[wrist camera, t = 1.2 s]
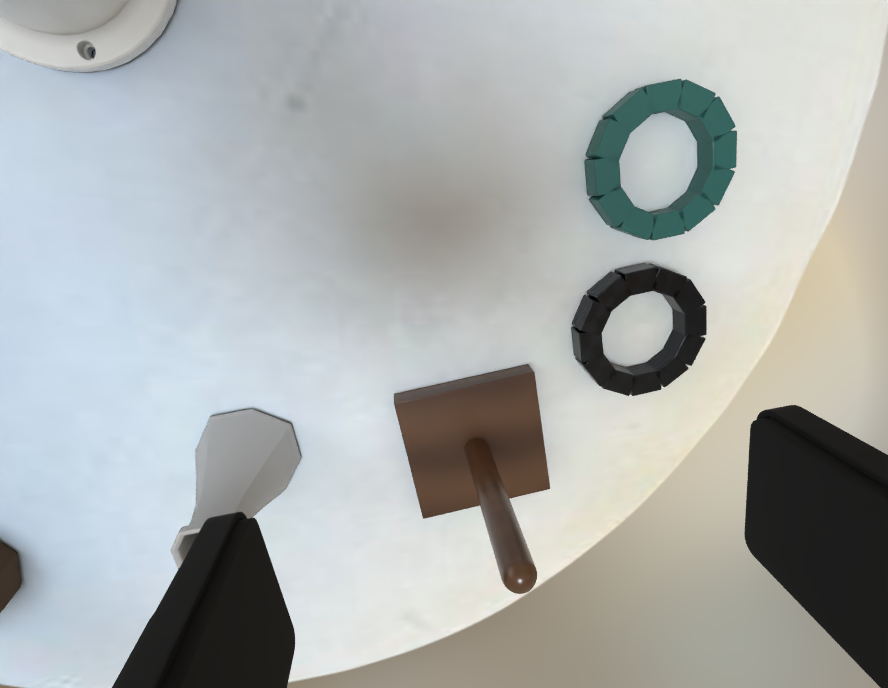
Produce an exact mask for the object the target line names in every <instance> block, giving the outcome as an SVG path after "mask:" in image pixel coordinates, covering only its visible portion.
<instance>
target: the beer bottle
mask: <svg viewBox="0 0 888 688" xmlns="http://www.w3.org/2000/svg"><path fill="white" fill-rule="evenodd" d="M20 586H21V578H20V571H19V565H18V559H17V553H16V552H15V551H14V550H12V549H11V548H9V547H8V546H6V545H5V544H3V543H2V542H0V612H1V611H2V610H3V609H4V608H5V606H6V605H7V604H8V602H9V601H10V600H11V599H12V597H13V596H14V595H15V593H16V592H17V591H18V590H19V588H20Z"/></svg>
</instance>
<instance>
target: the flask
mask: <svg viewBox="0 0 888 688" xmlns="http://www.w3.org/2000/svg"><path fill="white" fill-rule="evenodd" d="M195 458H196V505H195V509H194V513H193V517H192V520H191V522H190V524H189V525H188V526H184V527H182V528H181V529H180V531H179V533H178V535H177V537H176V539H175V542H174V544H173V546H172V548H171V553H172V555H173V558H174V560H175V562H176V565H177V567H178V569H179V568H180V566H181V564H182V562H183V560H184V559H185V557H186V555H187V553H188V551H189V550H190V548H191V546H192V544H193V542H194V540H195V539H196V537H197V535H198V533H199V531H200V530H201V528H202V526H203V524H204V522H205V521H206V520H207V519H208V518H210V517H215V516H220V515H225V514H231V513H236V512H243V513H244V514H245V515H246V517H247V519H248V518H252V517H253V516H255V515H256V514H257V513H258V512H259V511H260V510H261V509H262V508H263V507H265V506H266V505H267V504H268V503H270V502H271V501H272V500H273V499H275V498H276V497H277V496H278V495H280V494H281V493H282V492H283V491H284V490H285V489H286V488H287V486H288V484H289V482H290V480H291V478H292V476H293V474H294V472H295V470H296V468H297V466H298V464H299V462H300V460H301V456H300V453H299V449H298V446H297V443H296V439H295V436H294V432H293V429H292V426H291V424H289V423H287V422H284V421H281V420H279V419H276V418H274V417H271V416H269V415H266V414H263V413H261V412H258V411H256V410H253V409H249V410H243V411H238V412H233V413H227V414H222V415H217V416H211V417H210V418H209V420H208V423H207V425H206V427H205V429H204V432H203V434H202V436H201V439H200V441H199V443H198V445H197V448H196V456H195Z"/></svg>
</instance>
